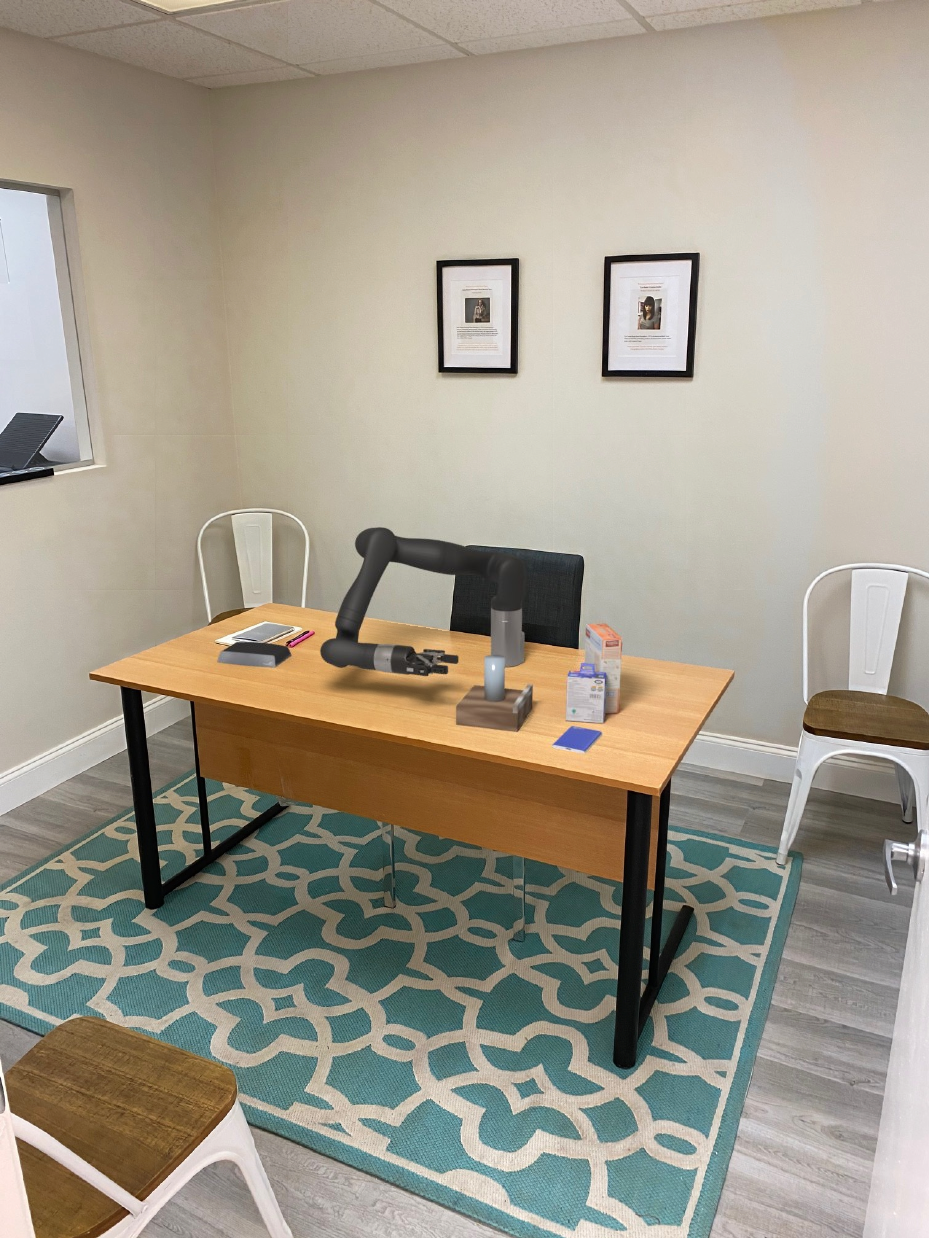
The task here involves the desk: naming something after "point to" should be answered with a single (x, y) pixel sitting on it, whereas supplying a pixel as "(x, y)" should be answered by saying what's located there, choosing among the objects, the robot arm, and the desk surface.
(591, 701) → the ink cartridge box
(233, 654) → the external hard drive
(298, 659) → the desk surface
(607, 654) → the cracker box
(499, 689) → the pale blue cylinder
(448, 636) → the desk surface
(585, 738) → the hard drive
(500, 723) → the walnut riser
